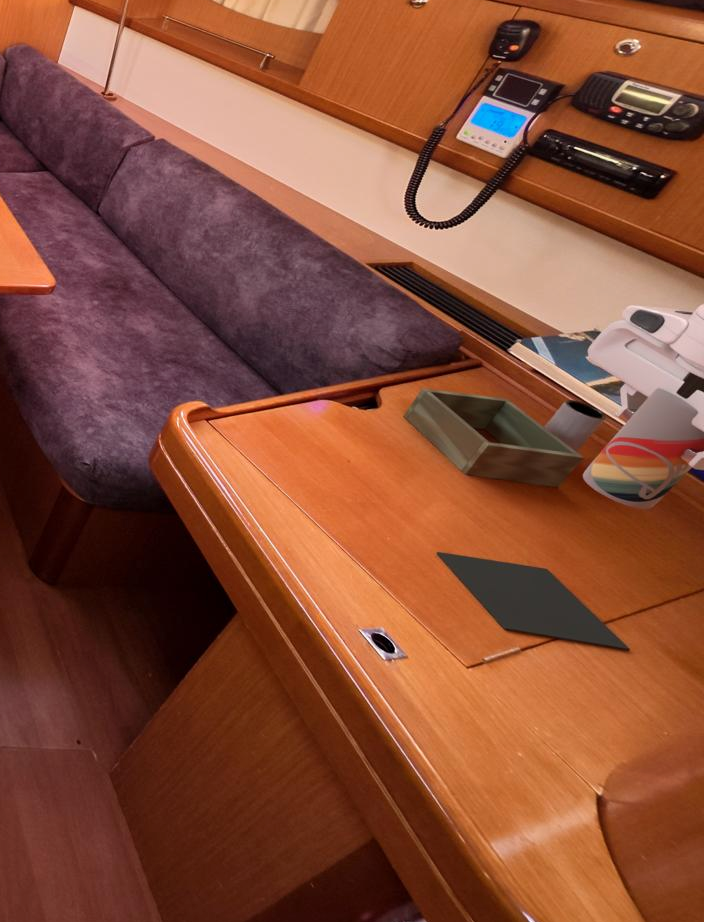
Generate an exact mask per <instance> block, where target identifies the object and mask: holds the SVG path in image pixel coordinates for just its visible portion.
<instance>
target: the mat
mask: <svg viewBox="0 0 704 922" xmlns="http://www.w3.org/2000/svg"><path fill="white" fill-rule="evenodd" d="M436 555H437V556H438V557H439V558H440V560H441V561H442V562H443V563H444V564H445V565H446V566H447V567H448V568H449V570H451V572H452V573H453V574H454V575H455V576H456V577H457V579H459V581H460V582H461V583H462V584H463V585H464V586H465V588H466V589H467V590H468V591H469V592H470V594H472V595H473V596H474V598H475V599H476V600H477V601H478V603H480V604H481V605H482V606H483V608H484V609H485V610H486V611H487V612H488V613H489V614H490V616H491V617H492V618H493V619H494V620H495V622H497V623H498V625H499V626H500V627H501V628H502V629H503V630H504V631H508V632H516V633H521V634H526V635H532V636H538V637H545V638H550V639H557V640H562V641H567V642H574V643H580V644H584V645H585V644H586V645H590V646H597V647H603V648H609V649H616V650H622V651H627V652H628V651H630V650H631V648H630V647H629V646H628V645H627V644H625V642H624V641H623V640H622V639H620V638H619V636H617V635H616V633H614V632H613V630H612V629H610V628H609V627H608V625H606V624H605V623H604V622H603V621H602V620H601V619H600V618H599V617H598V616H597V615H596V614H595V613H594V612H592V610H590V609H589V607H587V606H586V605H585V604H584V603H583V602H582V601H581V600H580V599H579V598H578V597H577V596H576V595H575V594H574V593H573V592H572V591H571V590H570V589H569V588H568V587H567V586H566V585H564V584H563V582H562V581H560V580H559V579H558V578H557V577H556V575H554V574H553V573H552V572H551V571H550V570H549V569H548V568H546V567H545V568H544V567H538V566H531V565H525V564H519V563H513V562H506V561H500V560H493V559H487V558H482V557H481V558H480V557H475V556H474V557H473V556H468V555H460V554H455V553H448V552H441V551H437V552H436Z"/></svg>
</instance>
